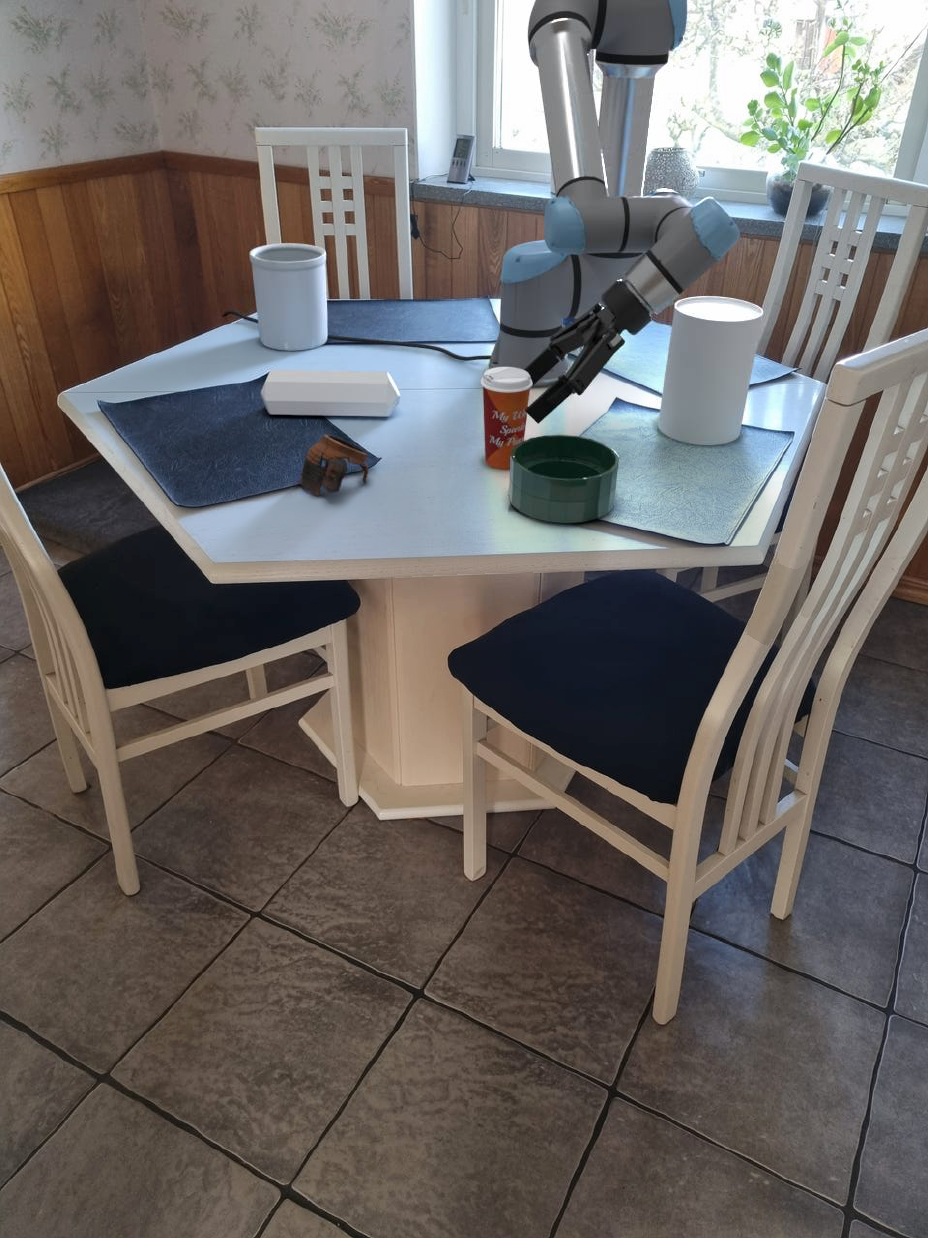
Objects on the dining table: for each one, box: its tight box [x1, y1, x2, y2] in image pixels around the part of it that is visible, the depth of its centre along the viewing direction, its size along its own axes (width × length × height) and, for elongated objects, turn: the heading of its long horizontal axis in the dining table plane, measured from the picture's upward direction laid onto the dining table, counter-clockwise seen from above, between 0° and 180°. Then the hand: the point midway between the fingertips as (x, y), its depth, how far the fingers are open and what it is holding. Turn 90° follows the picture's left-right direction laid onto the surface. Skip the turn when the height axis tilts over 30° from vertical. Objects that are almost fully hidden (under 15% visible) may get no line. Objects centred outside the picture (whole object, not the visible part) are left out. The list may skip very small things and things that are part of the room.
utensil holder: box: [249, 242, 328, 352], centre depth 188 cm, size 15×15×18 cm
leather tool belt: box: [299, 433, 369, 496], centre depth 136 cm, size 12×10×8 cm
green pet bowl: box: [508, 434, 620, 524], centre depth 133 cm, size 15×15×7 cm
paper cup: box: [480, 367, 533, 470], centre depth 141 cm, size 8×8×14 cm
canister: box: [657, 295, 764, 446], centre depth 152 cm, size 14×14×20 cm
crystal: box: [259, 369, 401, 417], centre depth 161 cm, size 7×7×24 cm
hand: (526, 399), depth 140 cm, fingers open, 13 cm apart
